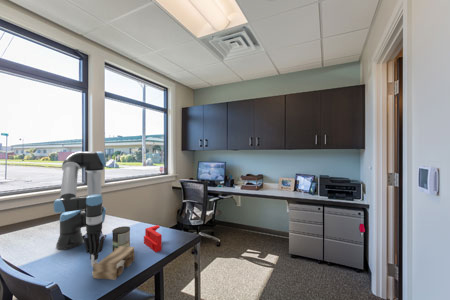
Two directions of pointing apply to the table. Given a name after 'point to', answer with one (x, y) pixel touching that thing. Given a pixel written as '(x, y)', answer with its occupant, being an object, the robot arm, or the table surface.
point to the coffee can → (121, 237)
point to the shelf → (113, 263)
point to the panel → (118, 264)
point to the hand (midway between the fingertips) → (94, 265)
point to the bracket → (153, 238)
